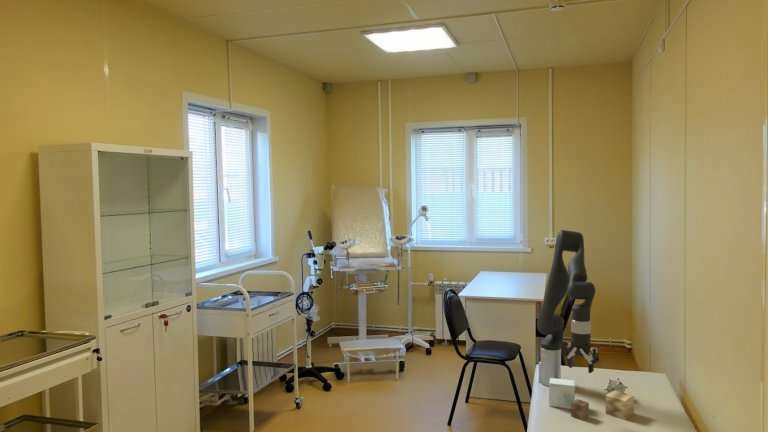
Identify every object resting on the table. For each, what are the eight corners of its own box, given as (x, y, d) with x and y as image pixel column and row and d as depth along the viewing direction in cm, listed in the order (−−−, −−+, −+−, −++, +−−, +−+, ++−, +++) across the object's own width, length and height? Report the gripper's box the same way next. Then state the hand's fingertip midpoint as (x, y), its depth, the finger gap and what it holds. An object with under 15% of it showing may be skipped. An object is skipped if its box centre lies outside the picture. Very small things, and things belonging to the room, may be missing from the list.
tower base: (605, 414, 229) (605, 405, 229) (614, 408, 234) (614, 399, 234) (624, 420, 223) (624, 410, 223) (633, 414, 228) (633, 405, 228)
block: (570, 416, 227) (571, 402, 226) (577, 413, 230) (577, 398, 230) (582, 420, 223) (582, 405, 223) (588, 416, 226) (588, 402, 226)
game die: (620, 406, 245) (630, 394, 238) (601, 398, 246) (611, 386, 240) (620, 390, 251) (631, 378, 245) (602, 383, 253) (612, 370, 247)
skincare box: (548, 406, 237) (548, 382, 236) (549, 400, 243) (549, 377, 242) (574, 409, 233) (574, 385, 232) (574, 403, 239) (575, 380, 239)
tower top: (605, 404, 229) (605, 395, 228) (614, 399, 234) (614, 390, 234) (624, 410, 223) (624, 401, 223) (633, 405, 228) (633, 395, 228)
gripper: (560, 329, 227) (559, 368, 228) (593, 336, 216) (592, 376, 217) (569, 325, 232) (569, 363, 233) (602, 332, 221) (601, 372, 222)
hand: (580, 369), depth 225 cm, fingers open, 8 cm apart
